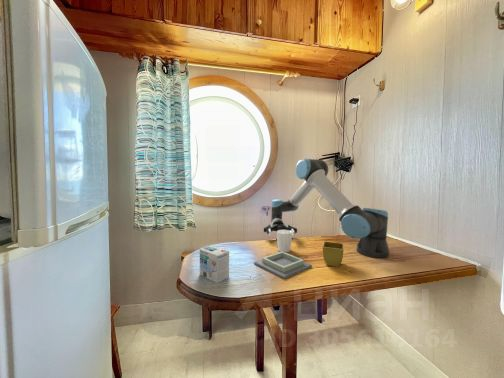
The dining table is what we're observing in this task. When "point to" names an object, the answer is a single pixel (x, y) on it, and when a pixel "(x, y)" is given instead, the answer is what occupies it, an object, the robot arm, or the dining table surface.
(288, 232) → the white cup
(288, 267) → the holder tray
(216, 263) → the light bulb box
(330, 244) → the flower pot
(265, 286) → the dining table surface
